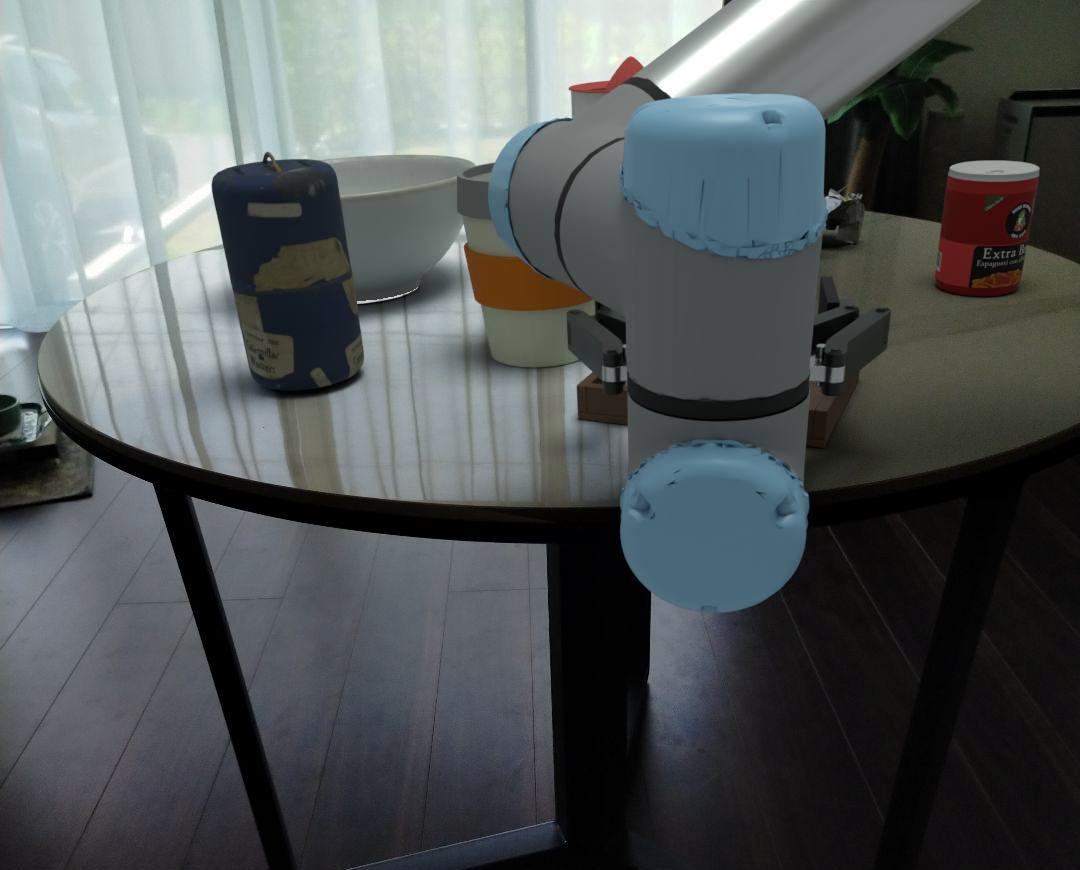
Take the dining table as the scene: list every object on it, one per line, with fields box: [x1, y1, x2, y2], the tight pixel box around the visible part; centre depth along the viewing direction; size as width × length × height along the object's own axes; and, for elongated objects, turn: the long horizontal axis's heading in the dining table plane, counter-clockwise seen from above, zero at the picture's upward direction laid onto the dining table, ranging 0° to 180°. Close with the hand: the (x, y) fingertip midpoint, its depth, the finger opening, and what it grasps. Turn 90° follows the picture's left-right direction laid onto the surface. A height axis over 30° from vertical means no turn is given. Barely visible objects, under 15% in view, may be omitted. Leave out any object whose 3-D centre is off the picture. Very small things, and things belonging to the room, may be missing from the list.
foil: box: [824, 183, 866, 245], centre depth 112 cm, size 12×11×15 cm
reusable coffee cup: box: [457, 161, 595, 368], centre depth 83 cm, size 13×12×15 cm
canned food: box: [934, 159, 1041, 298], centre depth 94 cm, size 8×8×11 cm
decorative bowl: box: [318, 154, 477, 301], centre depth 106 cm, size 27×27×12 cm
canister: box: [211, 151, 365, 392], centre depth 79 cm, size 10×10×18 cm
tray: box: [576, 370, 861, 449], centre depth 73 cm, size 18×14×3 cm
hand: (725, 296), depth 70 cm, fingers open, 13 cm apart
